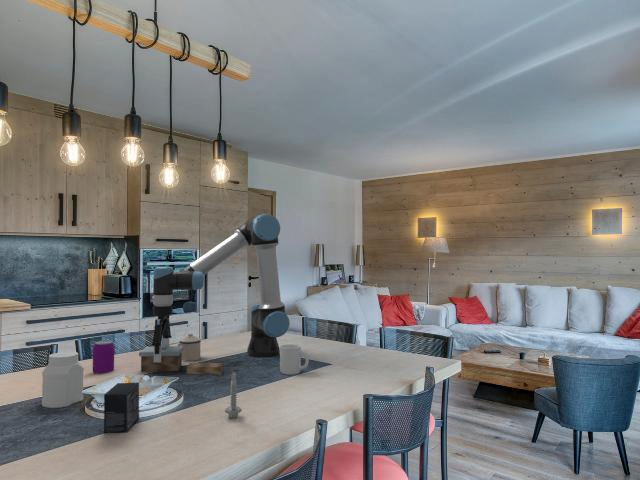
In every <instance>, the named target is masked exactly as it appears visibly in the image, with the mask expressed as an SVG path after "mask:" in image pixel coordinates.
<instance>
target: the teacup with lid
mask: <svg viewBox="0 0 640 480" xmlns="http://www.w3.org/2000/svg"><path fill="white" fill-rule="evenodd" d="M201 342H202V340H201V338H199V337H196V336H195V335H194V334H193V333H188V334H187V336H185V337H184V338H180V339H179V343H178V344H177V346H184V350H183V351H182V362H183V361H184V362H192V361H193V362H194V361H198V360H200V359H201Z"/></svg>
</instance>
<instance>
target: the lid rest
mask: <svg viewBox="0 0 640 480" xmlns="http://www.w3.org/2000/svg"><path fill="white" fill-rule="evenodd" d="M223 371H224V362H201V363H200V362H197V363H196V362H193V363H191V362H190V363H189V364H188V365H187V366H186V375H216V376H217V377H220V376H222V375H223Z"/></svg>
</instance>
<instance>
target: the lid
mask: <svg viewBox="0 0 640 480" xmlns="http://www.w3.org/2000/svg"><path fill="white" fill-rule="evenodd" d="M183 350H184V346H178V345H169V346H162V349H161V356H179V355H180V354H181V352H182V351H183ZM141 356H154V346H146V347H144V348H143V349H141V350H140V351H139V352H138V357H141Z"/></svg>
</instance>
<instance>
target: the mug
mask: <svg viewBox="0 0 640 480" xmlns="http://www.w3.org/2000/svg"><path fill="white" fill-rule="evenodd" d="M279 348H280V353H279V372H280V374H282V375H285V376H295V375H298V374H300V373H301V371H302V370H305V369H307V367H308V366H309V363H310V359H309V355H308V353H306V351H303V350H302V349H301V348H302V346H301V345H299V344H283V345H280V346H279ZM302 356H303V357H304V359H305V362H304V365H302V360H301V358H302Z"/></svg>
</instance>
